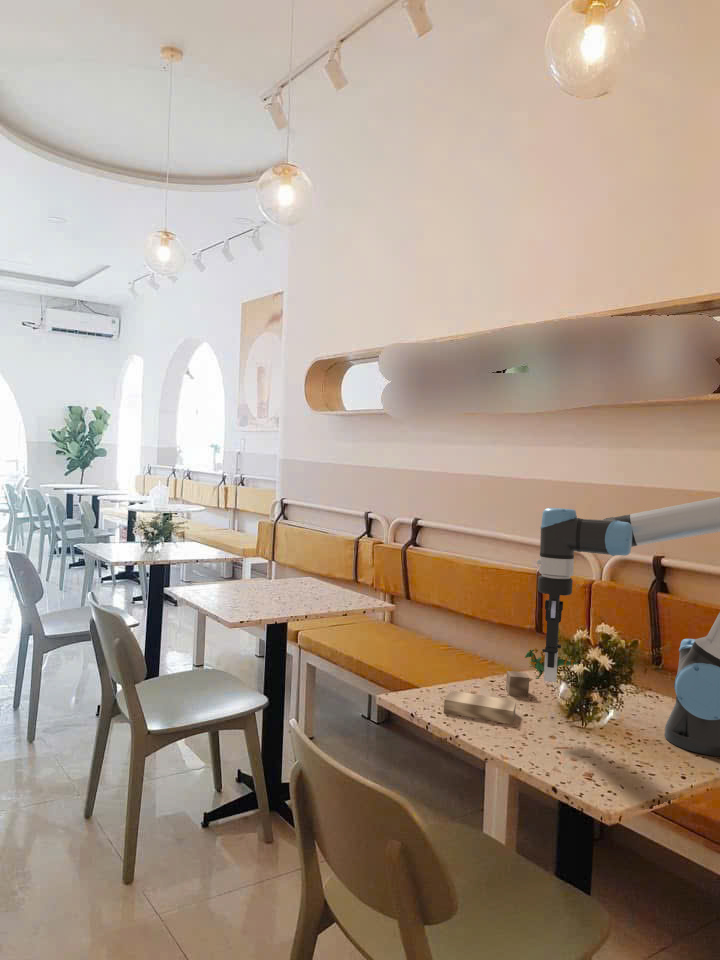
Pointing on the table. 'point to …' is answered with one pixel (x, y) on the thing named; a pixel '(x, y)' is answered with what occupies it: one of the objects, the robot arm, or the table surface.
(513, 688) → the grey brown cube
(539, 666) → the figurine
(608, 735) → the table surface
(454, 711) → the beige rectangular block
